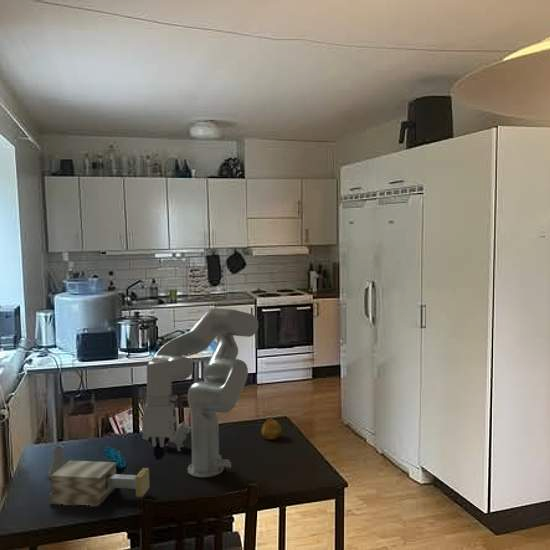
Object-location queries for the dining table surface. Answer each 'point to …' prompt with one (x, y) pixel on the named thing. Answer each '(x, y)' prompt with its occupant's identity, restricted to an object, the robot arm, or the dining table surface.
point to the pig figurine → (180, 435)
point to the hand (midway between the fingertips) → (159, 458)
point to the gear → (115, 457)
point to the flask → (57, 460)
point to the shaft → (130, 481)
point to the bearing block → (81, 483)
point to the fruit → (271, 429)
